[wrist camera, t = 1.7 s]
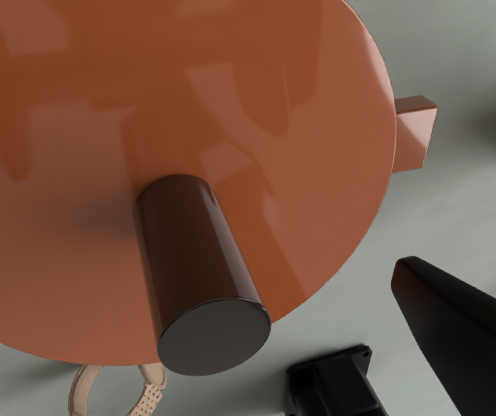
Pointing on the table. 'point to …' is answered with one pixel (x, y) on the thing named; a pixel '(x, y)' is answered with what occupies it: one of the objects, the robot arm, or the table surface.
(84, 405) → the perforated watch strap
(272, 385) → the table surface
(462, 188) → the table surface
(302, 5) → the pot lid
